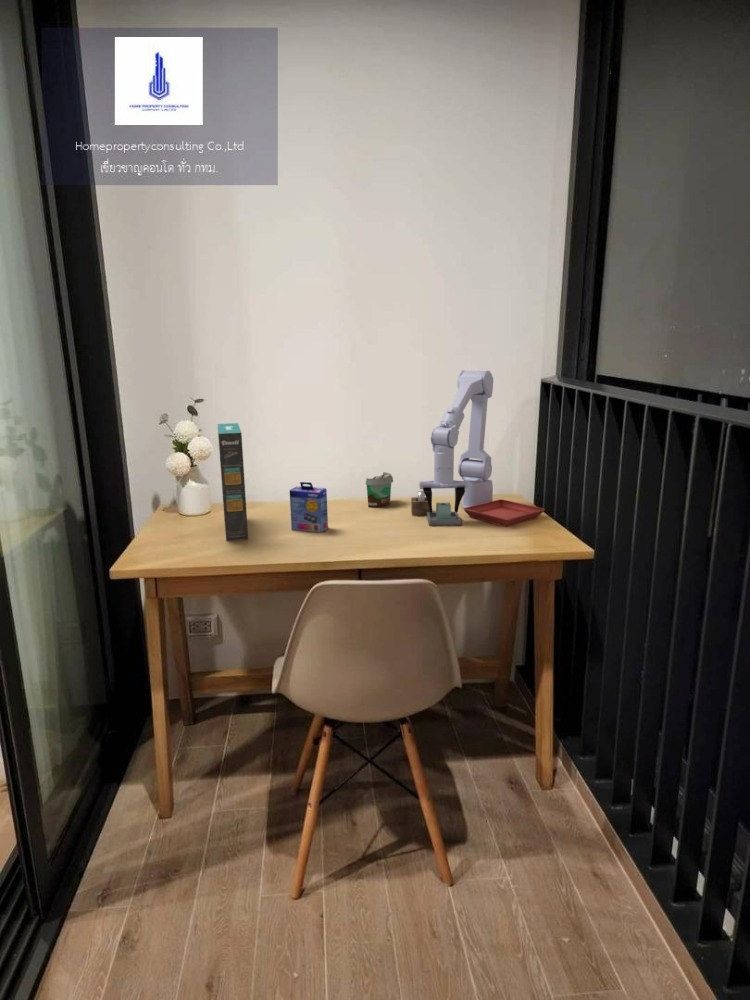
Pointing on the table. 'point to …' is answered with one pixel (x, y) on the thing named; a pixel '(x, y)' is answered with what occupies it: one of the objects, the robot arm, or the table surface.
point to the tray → (447, 522)
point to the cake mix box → (233, 481)
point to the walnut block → (419, 507)
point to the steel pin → (421, 496)
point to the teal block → (443, 511)
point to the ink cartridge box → (308, 508)
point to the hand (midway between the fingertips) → (443, 511)
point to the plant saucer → (503, 512)
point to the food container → (379, 490)
